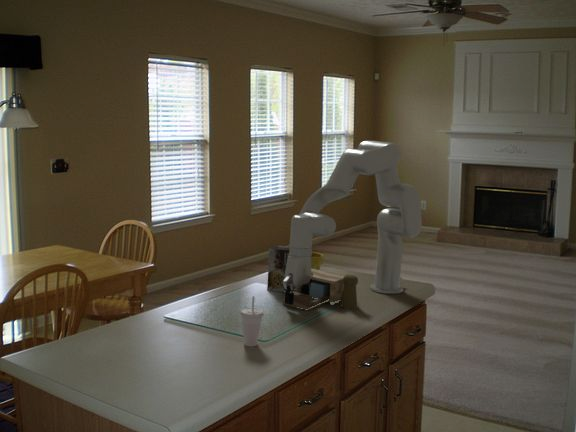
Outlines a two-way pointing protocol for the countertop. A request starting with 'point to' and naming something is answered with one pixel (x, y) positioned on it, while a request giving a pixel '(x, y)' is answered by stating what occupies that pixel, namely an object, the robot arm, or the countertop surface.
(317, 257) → the plant pot
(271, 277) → the coffee box
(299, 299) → the brown wooden frame
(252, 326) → the smoothie
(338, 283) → the tan boxy piece
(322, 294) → the blue block
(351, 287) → the cork
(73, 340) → the countertop surface
